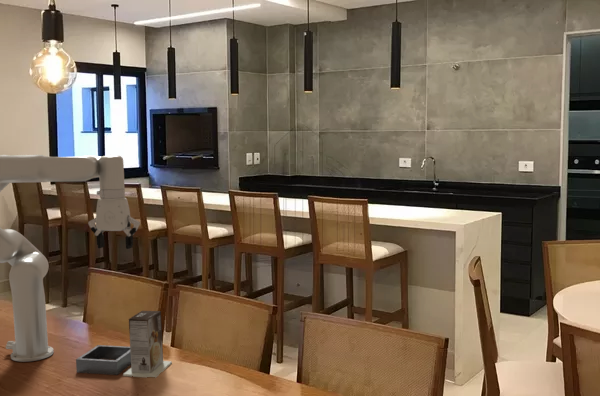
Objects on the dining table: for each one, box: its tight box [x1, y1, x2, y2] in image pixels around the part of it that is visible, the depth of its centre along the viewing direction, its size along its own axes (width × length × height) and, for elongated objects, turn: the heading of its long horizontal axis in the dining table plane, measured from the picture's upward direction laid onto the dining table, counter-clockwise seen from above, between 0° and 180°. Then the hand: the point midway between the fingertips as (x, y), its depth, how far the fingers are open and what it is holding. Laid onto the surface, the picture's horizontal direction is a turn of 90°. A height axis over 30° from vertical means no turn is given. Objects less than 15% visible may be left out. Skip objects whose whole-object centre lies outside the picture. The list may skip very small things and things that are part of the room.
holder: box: [75, 344, 131, 376], centre depth 198 cm, size 13×13×4 cm
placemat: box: [122, 360, 173, 379], centre depth 195 cm, size 10×12×1 cm
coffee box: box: [128, 310, 164, 373], centre depth 194 cm, size 9×6×16 cm
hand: (115, 247), depth 210 cm, fingers open, 9 cm apart
